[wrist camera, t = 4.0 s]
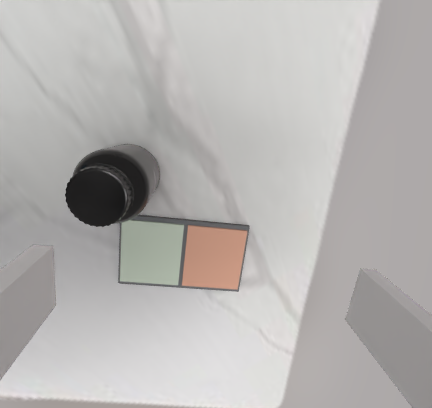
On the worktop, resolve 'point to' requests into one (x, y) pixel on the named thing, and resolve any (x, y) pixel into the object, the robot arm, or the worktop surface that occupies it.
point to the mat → (182, 253)
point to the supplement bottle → (112, 185)
